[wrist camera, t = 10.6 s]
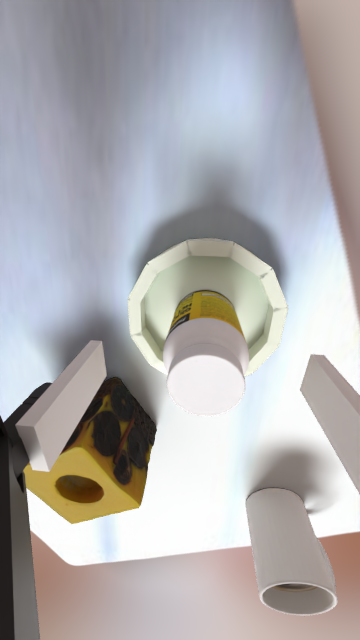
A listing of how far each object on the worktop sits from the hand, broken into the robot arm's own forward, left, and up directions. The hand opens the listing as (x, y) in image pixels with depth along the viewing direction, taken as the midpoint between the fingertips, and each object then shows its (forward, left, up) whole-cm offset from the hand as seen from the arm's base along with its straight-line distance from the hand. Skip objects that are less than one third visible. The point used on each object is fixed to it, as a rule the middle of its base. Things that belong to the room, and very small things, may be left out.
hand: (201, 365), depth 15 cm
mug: (+33, +14, -11) cm, 38 cm away
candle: (+16, -12, -11) cm, 23 cm away
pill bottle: (0, 0, -10) cm, 10 cm away
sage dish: (0, 0, -11) cm, 11 cm away
